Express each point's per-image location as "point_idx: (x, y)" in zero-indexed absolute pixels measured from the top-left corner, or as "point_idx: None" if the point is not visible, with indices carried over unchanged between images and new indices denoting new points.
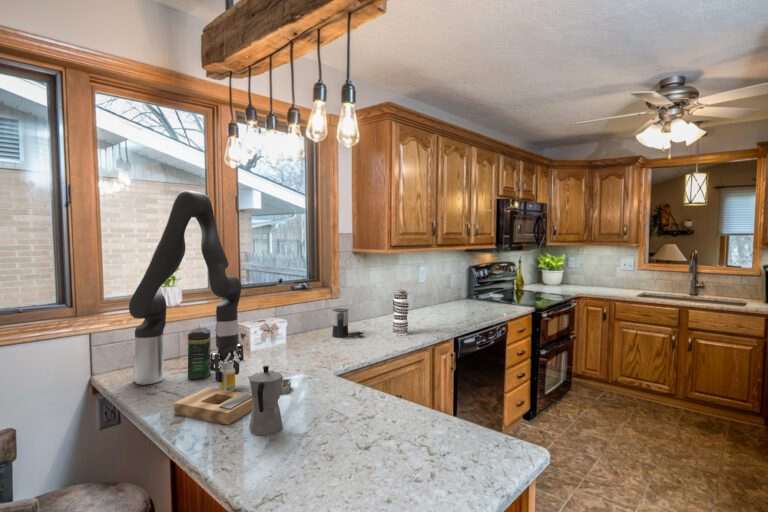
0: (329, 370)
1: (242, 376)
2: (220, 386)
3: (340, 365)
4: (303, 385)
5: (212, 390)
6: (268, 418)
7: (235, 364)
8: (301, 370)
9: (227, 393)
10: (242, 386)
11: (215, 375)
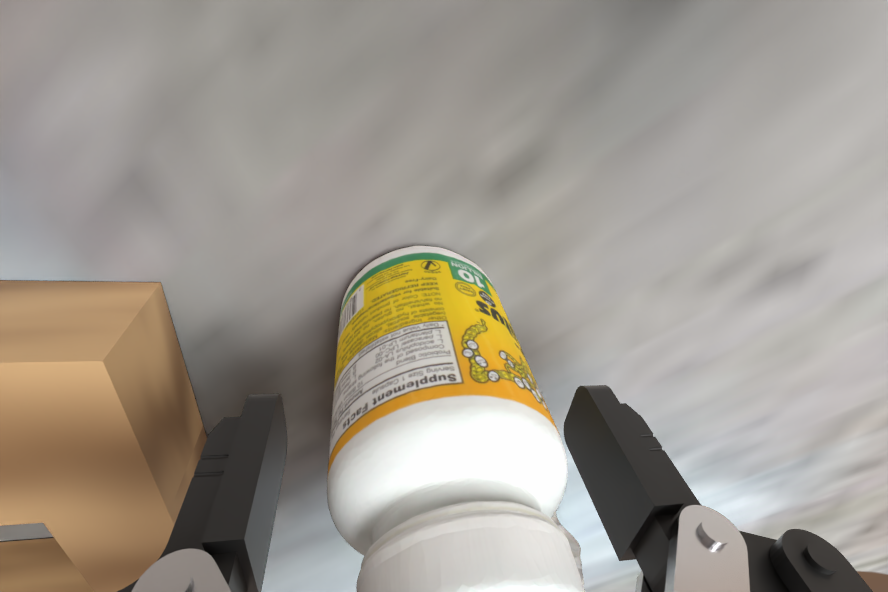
0: None
1: (811, 213)
2: (338, 333)
3: (875, 556)
4: (590, 576)
5: (68, 456)
6: None
7: (635, 536)
8: (847, 480)
9: (124, 569)
10: (530, 366)
11: (187, 494)
